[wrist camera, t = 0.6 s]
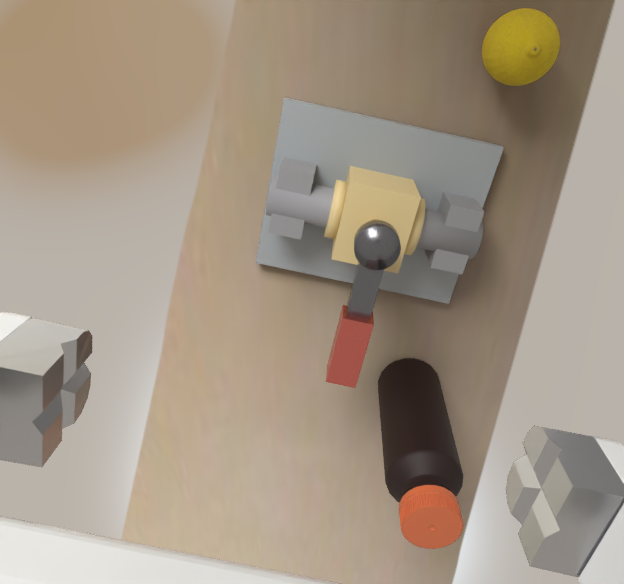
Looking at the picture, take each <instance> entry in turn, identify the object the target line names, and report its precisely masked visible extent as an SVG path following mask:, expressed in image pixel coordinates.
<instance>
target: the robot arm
mask: <svg viewBox="0 0 624 584" xmlns="http://www.w3.org/2000/svg"><path fill="white" fill-rule="evenodd" d="M91 353H92V335H91V333H90V332H89V330H85V329H80V328H76V327H71V326H67V325H63V324H59V323H54V322H50V321H46V320H41V319H37V318H32V317H29V316H24V315H19V314H14V313H9V312H1V313H0V460H3V461H9V462H14V463H21V464H27V465H32V466H38V467H43V465H44V464H45V463H46V461H47V460H48V459H49V457H50V456H51V454H52V453H53V452H54V450H55V449H56V448H57V446H58V445H59V444H60V442H61V441H62V429H63V428H65V427H67V426H70V425H72V424H74V423H75V421H76V420H77V418H78V417H79V415H80V414H81V412H82V410H83V408H84V405H85V403H86V400H87V398H88V393H89V389H90V379H91V373H90V371H89V370H88V368H87V367H86V365H85V363H84V362H85V360H86V359H87V358H88V357H89V355H90V354H91ZM523 445H524V448H525V451H526V455H524V456H523V457H521V458H519V459H517V460H516V461H514V463H513V465H512V467H511V470H510V472H509V475H508V479H507V487H506V494H507V503H508V506H509V509H510V512H511V514H512V515H513V516H514V517H515V518H516V519H517V520H518V521H519V522H520V523H521V524H522V528H521V529H520V531H519V533H518V535H519V537H520V540H521V543H522V545H523V549H524V551H525V554H526V557H527V560H528V562H529V565H530V566H531V567H536V568H540V569H545V570H549V571H553V572H558V573H562V574H566V575H570V576H575V577H579V578H578V581H580V583H581V584H624V446H623V445H622V444H620V443H619V442H617V441H615V440H611V439H606V438H600V437H594V436H586V435H581V434H576V433H571V432H565V431H560V430H555V429H549V428H544V427H539V426H533V427H532V429H531V430H530V431H529V432H528V433H527V435H526V437H525V440H524V442H523ZM0 584H341V583H336V582H331V581H326V580H321V579H316V578H311V577H306V576H300V575H295V574H290V573H285V572H280V571H275V570H270V569H265V568H260V567H255V566H250V565H245V564H240V563H235V562H230V561H225V560H220V559H215V558H210V557H205V556H200V555H195V554H190V553H185V552H180V551H175V550H170V549H165V548H160V547H155V546H150V545H145V544H140V543H134V542H129V541H124V540H119V539H114V538H109V537H104V536H99V535H94V534H88V533H84V532H79V531H74V530H69V529H64V528H59V527H54V526H49V525H44V524H39V523H34V522H29V521H24V520H19V519H14V518H9V517H4V516H0Z"/></svg>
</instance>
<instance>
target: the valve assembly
mask: <svg viewBox="0 0 624 584" xmlns="http://www.w3.org/2000/svg"><path fill="white" fill-rule="evenodd" d="M503 149H504V147H503V146H501V145H498V144H493V143H489V142H484V141H480V140H475V139H471V138H467V137H462V136H458V135H453V134H449V133H444V132H440V131H435V130H431V129H426V128H422V127H417V126H413V125H408V124H404V123H399V122H395V121H390V120H386V119H381V118H377V117H372V116H368V115H363V114H359V113H354V112H350V111H346V110H341V109H337V108H332V107H328V106H323V105H319V104H314V103H310V102H305V101H301V100H296V99H292V98H287V97H285V98H284V102H283V108H282V113H281V119H280V125H279V131H278V136H277V142H276V148H275V154H274V160H273V165H272V171H271V177H270V183H269V189H268V194H267V200H266V206H265V212H264V217H263V223H262V229H261V235H260V241H259V246H258V252H257V258H256V263H259V264H264V265H268V266H273V267H278V268H282V269H287V270H292V271H297V272H301V273H306V274H311V275H315V276H320V277H325V278H329V279H334V280H339V281H343V282H348V283H353V281H354V277H355V273H356V269H357V265H358V260H357V259H356V256H355V253H354V237H355V234H356V232H357V230H358V229H359V228H360V227H361V226H362V225H363V224H365V223H367V222H369V221H373V220H381V221H385V222H388V223H389V224H391V225H392V226H393V227H394V228H395V229H396V231H397V233H398V236H399V240H400V244H401V251H400V255H399V257H398V259H397V261H396V262H395V263H394V264H393V265H392V266H390V267H388V268H386V269H384V272H383V275H382V279H381V282H380V286H379V289H381V290H386V291H390V292H395V293H400V294H404V295H409V296H414V297H419V298H423V299H428V300H433V301H437V302H442V303H447V304H449V302H450V299H451V296H452V293H453V290H454V287H455V285H456V282H457V279H458V276H459V274H463V272H464V269H465V266H466V263H467V260H468V259H473V258H474V257H475V256H476V254H477V252H478V250H479V248H480V245H481V241H482V237H483V222H482V218H483V216H484V213H485V212H484V211H483V209H482V208H483V206H484V203H485V200H486V197H487V194H488V192H489V189H490V186H491V183H492V180H493V177H494V175H495V172H496V169H497V166H498V163H499V160H500V158H501V155H502V152H503Z"/></svg>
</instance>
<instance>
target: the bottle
mask: <svg viewBox="0 0 624 584" xmlns="http://www.w3.org/2000/svg"><path fill="white" fill-rule="evenodd" d="M378 393H379V405H380V418H381V431H382V443H383V456H384V469H385V482H386V485H387V488H388V490H389V493H390V494H391V495H392V496H393V497H394V498H395V499H396V500H397V501H398V502H399V514H400V523H401V531H402V534H403V535H404V537H405V538H406V539H407V540H408V541H409V542H411V543H413V544H414V545H416V546H419V547H423V548H429V549H430V548H432V549H435V548H440V547H445V546H448V545H449V544H451V543H453V542H454V541H456V539H457V538H458V537H459V536H460V534H461V532H462V530H463V529H462V528H463V521H462V516H461V512H460V508H459V504H458V501H457V498H456V496H457V495H458V493H459V491H460V489H461V487H462V483H463V472H462V468H461V464H460V461H459V457H458V453H457V449H456V445H455V441H454V437H453V433H452V429H451V425H450V421H449V417H448V413H447V409H446V406H445V402H444V398H443V394H442V390H441V386H440V382H439V379H438V376H437V373H436V372H435V371H434V369H433V368H432V367H431V366H430V365H428V364H427V363H425V362H424V361H421V360H417V359H401V360H398V361H395V362H393V363H391V364H390V365H388V366H387V367H386V368H385V369H384V370H383V371H382V373H381V376H380V378H379V380H378Z"/></svg>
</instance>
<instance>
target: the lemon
mask: <svg viewBox="0 0 624 584" xmlns="http://www.w3.org/2000/svg"><path fill="white" fill-rule="evenodd" d="M559 48H560V35H559V32H558V29H557V26H556V25H555V23H554V22H553V21H552V19H551V18H550V17H549V16H547V15H546V14H545V13H543V12H541V11H538V10H535V9H529V8H521V9H517V10H512V11H510V12H508V13H506V14H504V15H502V16H501V17H500V18H499V19H497V20H496V21H495V22H494V23H493V24H492V26H491V27H490V28H489V30H488V31H487V33H486V36H485V38H484V41H483V45H482V59H483V63H484V66H485V68H486V70H487V71H488V73H489V74H490V75H491V76H492V77H493V78H494V79H495V80H497V81H499V82H501V83H503V84H506V85H511V86H519V85H526V84H529V83H532V82H534V81H536V80H537V79H539V78H541V77H542V76H543V75H545V74H546V73H547V72H548V71H549V70H550V68H551V67H552V65H553V64H554V62H555V61H556V58H557V56H558V53H559Z"/></svg>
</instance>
